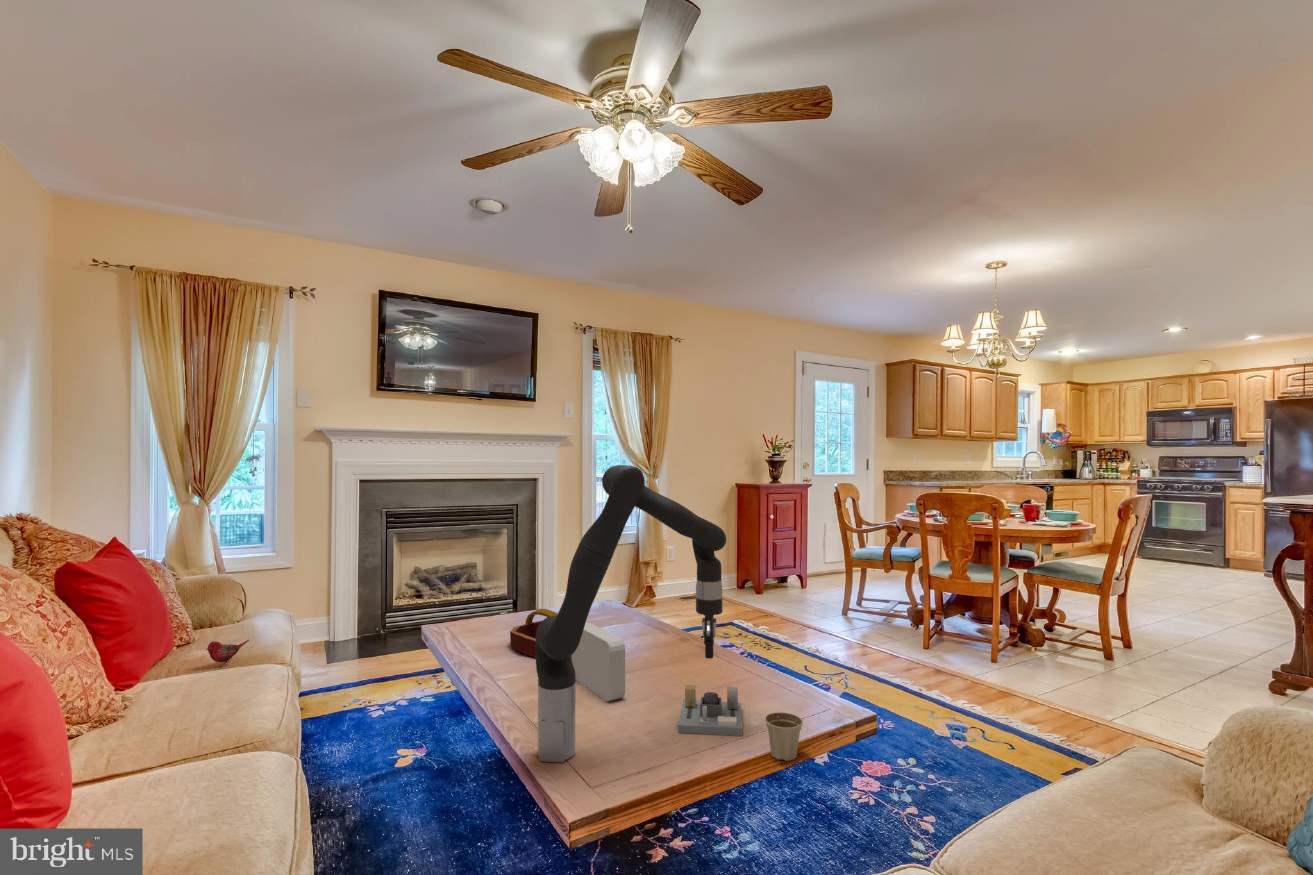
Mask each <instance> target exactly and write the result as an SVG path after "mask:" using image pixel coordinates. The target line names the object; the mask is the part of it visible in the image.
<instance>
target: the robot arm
mask: <svg viewBox="0 0 1313 875" xmlns="http://www.w3.org/2000/svg"><path fill="white" fill-rule="evenodd" d="M601 484H602V488H603V490H604V492H605V493H606V495H607V499H606V502H605V504H604V508H603V509H602V511H601V513H600V514H599V516H598V517H597V519H595V521H594V522H593V523H592V525H591V526H590V527H589V528H588V529H587V530H586V532H585V534H584V535H583V536H582V537H581V540H580V542H578V546H577V548H576V551H575V552H574V555H573V557H572V560H571V562H570V566H569V572H568V578H567V584H566V590H565V595H564V598H563V601H562V604H561V606H560V608H559V610H558V612H557V613H558V614H557V615H553V616H549V617H545V618H544V619H542V620H543V621H542V620H541V621H542V622H541V623H540V625H539V626H538V629H537V632H536V657H535V669H536V674H537V686H538V687H537V689H538V692H537V693H538V694H537V756H538V761H539V762H550V763H565V761H566V760H570V758H572V757H574V755H575V754H576V692H577V691H576V673H575V669H574V666H573V663H572V657H571V655H572V654H573V653H574V652H575V651H576V649H577V647H578V645H579V643H580V640H581V636H582V633H583V630H584V626H585V623H586V621H587V620H588V617H589V613H590V611H591V609H592V608H591V607H592V605H593V603H594V601H595V598H596V596H597V594H598V592H599V590H600V587H601V585H602V582H603V580H604V578H605V576H606V574H607V571H608V568H609V566H610V564H611V562H612V559H613V557H614V555H615V552H616V549H617V546H618V544H619V542H620V540H621V538H622V534H623V532H624V530H625V527H626V524H627V523H628V520H629V518H630V516H631V515H632V512H633V510H634V509H635V508H637V509H639V510H641V511H642V512H645V513H646V514H648V515H650V516H651V517H653V518H654V519H656V520H658V521H659V522H661V523H662V524H664V525H665V526H667V527H668V528H670V529H671V530H672V531H675V532H676V533H678V534H680V535H682V536H684V537H686V538H689V539H691V543H692V549H693V550H692V551H693V554H694V559H695V562H696V585H695V612H696V613H697V614H698V615H702V616H704V617H702V620H701V627H702V637H703V644H704V647H705V648H704V650H705V651H704V652H705V653H704V657H705V658H706V659H711V660H712V659H713V658H714V645H715V640H714V639H715V637H716V628H717V618H714V616H718V615H719V616H720V615H721V614H722V613H723V610H724V609H723V583H722V580H723V579H722V563H721V561H720V560H719V558H717V557H716V555H715V552H718V551H720V550H722V549H723V548H724V547H725V546H726V543H727V535H726V533H725V531H724V530H723V529H722V528H721V526H719V525H717V524H715V523H713V522H712V521H709V520H707V519H705V518H702V517H701V516H699V515H697V514H696V513H694V512H693V511H692V510H690V509H689V508H687V507H685V506H684V505H682V504H680V503H679V502H677V501H675V500H673V499H671V498H669V497H667V496H665V495H662V494H660V493H658V492H657V491H654V490H653V489H651V488H649V487H648V486H646V480H645V474H644V473H643V470H641V469H640V468H639V467H637V466H633V465H625V464H624V465H623V464H621V465H620V464H618V465H613V466H610V467H609V468H607V469H606V470H605V471H604V473H603V476H602V479H601Z"/></svg>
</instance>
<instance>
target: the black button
mask: <svg viewBox="0 0 1313 875" xmlns="http://www.w3.org/2000/svg"><path fill="white" fill-rule="evenodd" d="M703 697H704V704H711V705H718V697H719V693H717V692H714V691H713V692H711V691H708V692H704V693H703Z"/></svg>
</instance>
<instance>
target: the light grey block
mask: <svg viewBox="0 0 1313 875" xmlns="http://www.w3.org/2000/svg"><path fill="white" fill-rule="evenodd" d="M726 688H727V689H726V694H727V697H726V700H727V701H726V702H727V709H738V702H739V690H738V689H739V687H738V686H737V687H736V686H727V687H726Z"/></svg>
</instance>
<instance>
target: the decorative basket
mask: <svg viewBox="0 0 1313 875" xmlns="http://www.w3.org/2000/svg"><path fill="white" fill-rule="evenodd" d="M557 614H558V612H555V611H553V610H550V609H547V608H537V609H536V610H534V611H533V612H530V613H529V614H528V615H527V617H526V619H525V624H520V625H518V626H517V625H516V626H514V627H513V628H512V629H511V630H510V631H509V636H510V637H509V638H510V648H512V649H514V650H516V651H518V652H521V653H523V654H525V655H527V656H530V657H533V658H536V632H537V629H538V626H539V625H540V623H541V622H542V621H543V620H544V619H542V620H538V621H537V620H536V621H534V622H533V620H534V617H535V616H536V615H537V616H538V615H539V616H543V617H545V618H547V617H549V616H553V615H557Z"/></svg>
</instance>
